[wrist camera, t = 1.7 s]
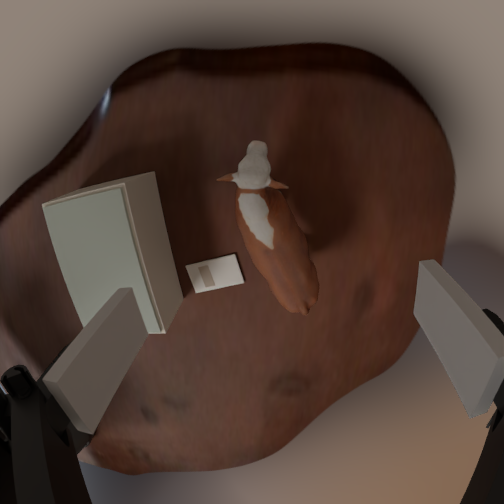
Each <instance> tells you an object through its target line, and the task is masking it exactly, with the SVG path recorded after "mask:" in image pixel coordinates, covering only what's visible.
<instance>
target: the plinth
mask: <svg viewBox="0 0 504 504" xmlns="http://www.w3.org/2000/svg"><path fill="white" fill-rule="evenodd" d="M42 207H43V211H44V215H45V219H46V223H47V226H48V230H49V233H50V237H51V240H52V244H53V247H54V250H55V253H56V256H57V259H58V262H59V265H60V268H61V271H62V274H63V277H64V280H65V282H66V285H67V288H68V290H69V293H70V296H71V298H72V301H73V303H74V306H75V308H76V311H77V313H78V315H79V318H80V320H81V322H82V325H83V327H85V326H86V325H87V324H88V322H89V321H90V320H91V319H92V318H93V317H94V316H95V314H96V313H97V312H98V311H99V310H100V309H101V308H102V306H103V305H104V304H105V303H106V302H107V301H108V300H109V298H110V297H111V296H112V295H113V294H114V293H115V292H116V291H117V290H118V288H128V287H132V289H133V292H134V295H135V298H136V301H137V304H138V307H139V309H140V312H141V315H142V318H143V321H144V324H145V326H146V329H147V332H148V333H166V332H167V330H168V328H169V326H170V324H171V322H172V320H173V318H174V316H175V315H176V313H177V311H178V309H179V307H180V305H181V303H182V301H183V299H184V298H183V294H182V290H181V287H180V283H179V279H178V275H177V271H176V267H175V263H174V259H173V255H172V251H171V247H170V242H169V238H168V234H167V229H166V225H165V220H164V216H163V211H162V206H161V201H160V196H159V192H158V186H157V181H156V176H155V171H153V172H149V173H144V174H139V175H135V176H130V177H126V178H122V179H117V180H113V181H109V182H105V183H101V184H97V185H93V186H89V187H85V188H82V189H78V190H75V191H73V192H70V193H68V194H65V195H63V196H60V197H58V198H55V199H53V200H51V201H48V202H46V203H43V204H42Z"/></svg>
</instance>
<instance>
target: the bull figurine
mask: <svg viewBox="0 0 504 504" xmlns="http://www.w3.org/2000/svg"><path fill="white" fill-rule="evenodd" d="M267 152H268V151H267V146H266V143H264V142H262V141H252V142H251V143H250V144H249V145H248V148H247V155H246V156H245V157H244V158H243V159H242V161H241V162H240V163H239V165H238V172H236V173H229V174H226V175H224V176H222V177H220V178H218V179H216V180H217V181H226V182H230V181H234V182H236V183H237V189H236V196H235V200H236V206H235V215H236V221H237V225H238V227H239V230H240V232H241V234H242V236H243V240H244V244H245V246H246V249H247V251H248V253H249V255H250V257H251V260H252V262H253V263H254V265H255V266H256V268H257V269H258V270H259V272H260V273H261V274H262V275H263V276H264V277H265V278H266V280H267V281H268V285H269V288H270V290H271V292H272V293H273V295H274V296H275V297H276V299H277V300H278V301H279V302H280V304H281V305H282V306H283V307H284V308H285V309H287V310H288V311H290V312H295V313H296V312H301V313H302V314H303V315H307V314H308V313H309V310H310V307H312V306H313V305H314V304H316V302H317V300H318V293H319V282H318V278H317V272H316V268H315V265H314V263H313V262H312V261H311V260H310V258H309V250H308V243H307V240H306V237H305V235H304V233H303V232H302V230H301V229H300V227H299V226H298V224H297V222H296V220H295V218H294V216H293V214H292V212H291V211H290V208H289V206H288V204H287V202H286V200H285V198H284V197H283V195H282V193H281V192H280V191H278V190H276V189H281V188H284V189H288V188H289V187H288V186H287V185H285V184H283V183H281V182H279V181H276V180H275V179H273V178H271V177H270V175H269V174H270V171H271V167H270V163H269V161H268V159H267ZM267 186H269V187H272V188H268V187H267Z"/></svg>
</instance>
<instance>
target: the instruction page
mask: <svg viewBox="0 0 504 504" xmlns="http://www.w3.org/2000/svg"><path fill="white" fill-rule="evenodd" d="M185 267H186V269H187V272H188V274H189V277H190V279H191V282H192V284H193V287H194V289H195V292H196V293H199V292H204V291H208V290H213V289H218V288H223V287H227V286H232V285H237V284H241V283H244V279H243V276H242V273H241V270H240V267H239V264H238V261H237V258H236V255H235V254H232V255H227V256H223V257H219V258H215V259H211V260H206V261H202V262H198V263H194V264H190V265H186V266H185Z"/></svg>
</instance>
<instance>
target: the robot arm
mask: <svg viewBox="0 0 504 504" xmlns="http://www.w3.org/2000/svg"><path fill="white" fill-rule="evenodd" d="M413 314H414V316H415V317H416V319H417V321H418V322H419V324H420V326H421V327H422V329H423V331H424V332H425V334H426V336H427V338H428V339H429V341H430V343H431V345H432V346H433V348H434V350H435V352H436V353H437V355H438V357H439V359H440V361H441V363H442V364H443V366H444V368H445V370H446V372H447V374H448V376H449V378H450V379H451V381H452V383H453V385H454V387H455V389H456V391H457V393H458V395H459V397H460V399H461V401H462V403H463V405H464V407H465V410H466V412H467V414H468V416H469V418H473V417H476V416H478V415H481V414H484V413H486V412H487V411H488V409H489V408H490V406H491V404H492V402H493V401H494V403H495V404H496V406H497V409H496V411H495V413H494V414H493V416H492V418H491V420H490V421H489V423H488V424H487V426H486V428H489V426H490V425H491V426H490V429H489V432H488V436H487V438H486V441H485V445H484V447H483V450H482V453H481V456H480V458H479V461H478V464H477V466H476V469H475V471H474V474H473V476H472V478H471V481H470V483H469V486H468V487H467V490H466V492H465V494H464V496H463V498H462V501H461V503H460V504H504V323H503V321H502V320H501V319H500V318H499V317H498V316H497V315H496V314H495V313H493V312H491V311H490V310H488V309H483V310H481V309H480V308H479V306H478V305H477V304H476V303H475V302H474V301H473V300H472V299H471V297H470V296H469V295H468V294H467V293H466V292H465V291H464V290H463V289H462V288H461V287H460V286H459V284H458V283H457V282H455V280H454V279H453V278H452V277H451V276H450V275H449V274H448V273H447V272H446V271H445V270H444V269H443V268H442V267H441V266H440V265H439V264H438V263H437V262H436V261H435V260H434V259H433V260H425V261H419V272H418V281H417V290H416V298H415V306H414V313H413ZM147 336H148V332H147V329H146V326H145V324H144V321H143V318H142V315H141V312H140V309H139V307H138V304H137V301H136V298H135V295H134V292H133V289H132V287H128V288H118V290H117V291H116V292H115V293H114V294H113V295H112V296H111V297H110V298H109V300H108V301H107V302H106V303H105V304H104V305H103V306H102V308H101V309H100V310H99V311H98V312H97V313H96V314H95V316H94V317H93V318H92V319H91V320H90V321H89V322H88V324H87V325H86V326H85V327H84V328H83V330H82V331H81V332H80V333H79V334H78V335H77V337H76V338H75V339H74V340H73V341H72V342H71V343H69V344H68V345H67V346H65V347H64V348H63V349H62V351H61V352H60V353H59V354H58V357H56V358H55V359H54V360H53V363H51V364H50V365H49V367H48V368H47V369H46V370H45V372H44V373H43V374H42V375H41V377H40V378H39V379H38V381H37V382H35V380H34V379H33V377H32V376H31V374H30V372H29V371H28V369H27V367H25V366H24V365H16V366H13V367H11V368H9V369H8V370H7V371H6V372H5V373H4V374H3V375H2V377H1V380H0V381H1V383H2V384H3V386H4V387H5V389H6V390H7V392H8V393H9V394H5V393H4V392H3V391H2V389H1V388H0V504H92V502H91V499H90V497H89V494H88V491H87V488H86V485H85V481H84V478H83V475H82V472H81V469H80V465H79V461H78V458H77V454H78V453H79V452H80V451H81V450H82V449H83V448H84V447H87V446H88V445H89V444H90V442H91V440H92V438H93V437H94V431H95V430H96V428H97V426H98V424H99V422H100V420H101V418H102V416H103V415H104V413H105V411H106V409H107V407H108V405H109V403H110V402H111V400H112V398H113V396H114V394H115V392H116V391H117V389H118V387H119V385H120V383H121V382H122V380H123V378H124V376H125V374H126V373H127V371H128V369H129V367H130V366H131V364H132V362H133V360H134V359H135V357H136V355H137V353H138V352H139V350H140V348H141V346H142V345H143V343H144V341H145V340H146V338H147Z"/></svg>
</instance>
